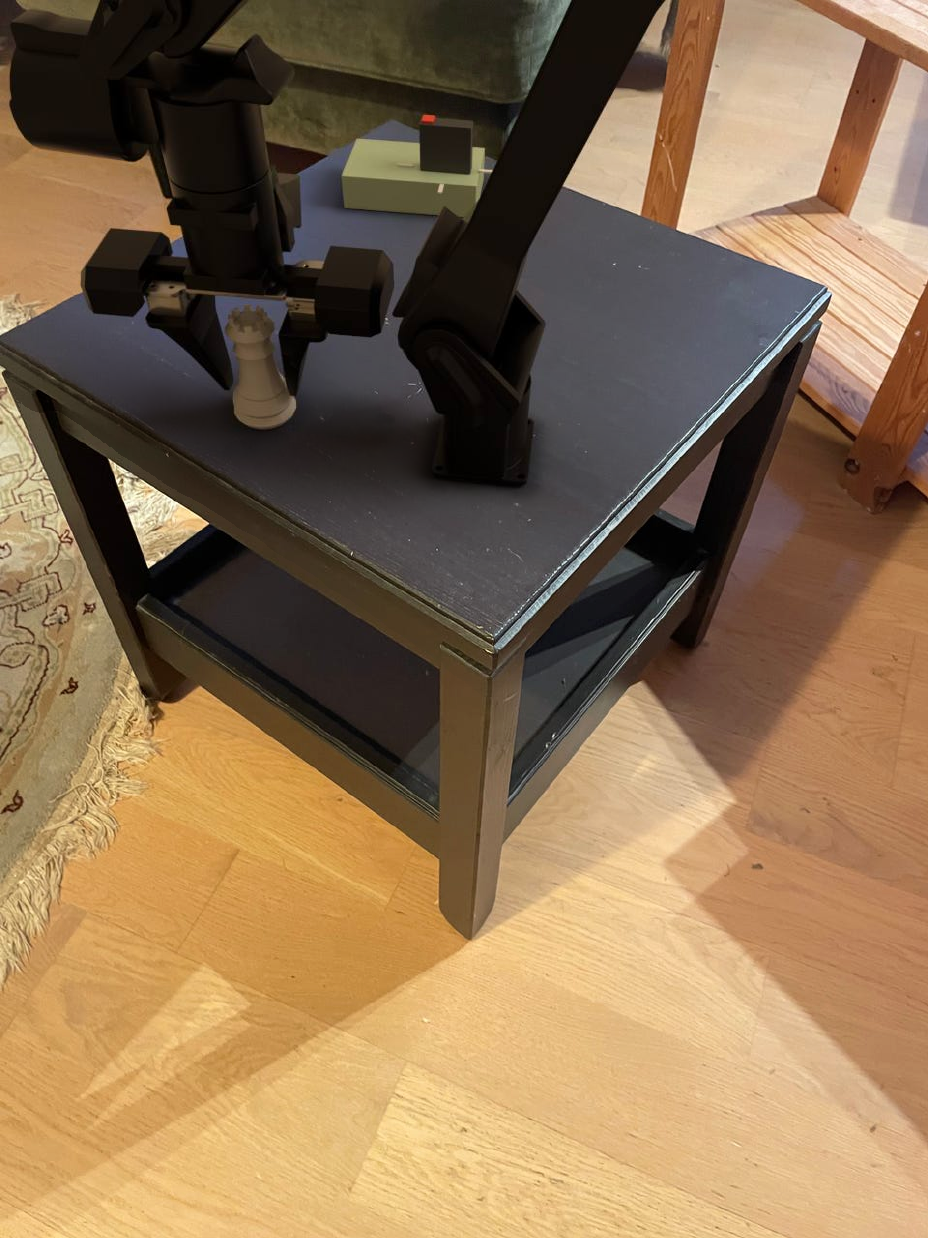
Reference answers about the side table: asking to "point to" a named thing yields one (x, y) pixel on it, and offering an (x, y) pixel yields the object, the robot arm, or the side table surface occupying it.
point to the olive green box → (407, 180)
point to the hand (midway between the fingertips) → (262, 389)
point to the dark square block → (445, 145)
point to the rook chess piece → (257, 371)
